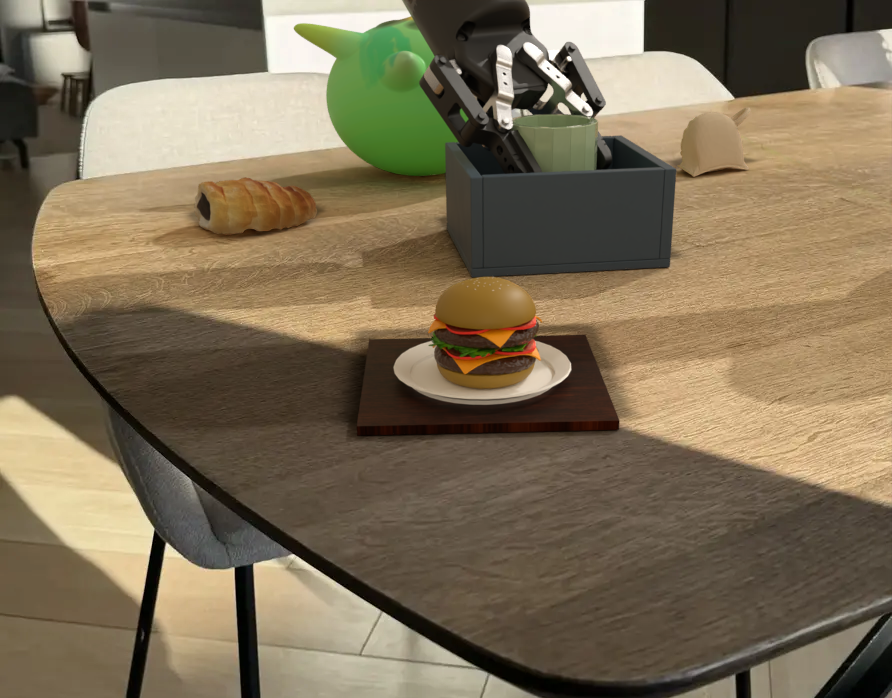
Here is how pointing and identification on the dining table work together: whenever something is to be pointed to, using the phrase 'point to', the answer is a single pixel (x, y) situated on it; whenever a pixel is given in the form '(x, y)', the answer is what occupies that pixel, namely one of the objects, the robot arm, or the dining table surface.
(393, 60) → the toy bird
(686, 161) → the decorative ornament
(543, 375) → the hamburger
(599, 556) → the dining table surface
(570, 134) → the tub
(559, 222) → the bin
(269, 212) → the pastry
